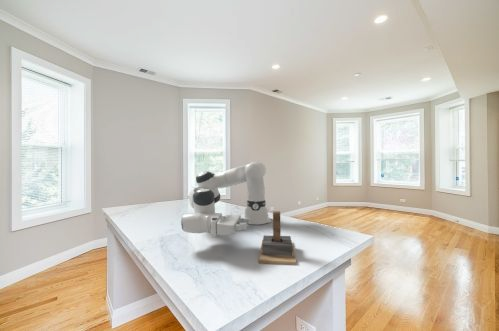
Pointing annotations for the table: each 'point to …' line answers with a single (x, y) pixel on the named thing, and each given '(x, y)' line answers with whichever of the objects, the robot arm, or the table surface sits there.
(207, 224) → the robot arm
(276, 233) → the walnut slat
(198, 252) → the table surface
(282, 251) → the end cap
